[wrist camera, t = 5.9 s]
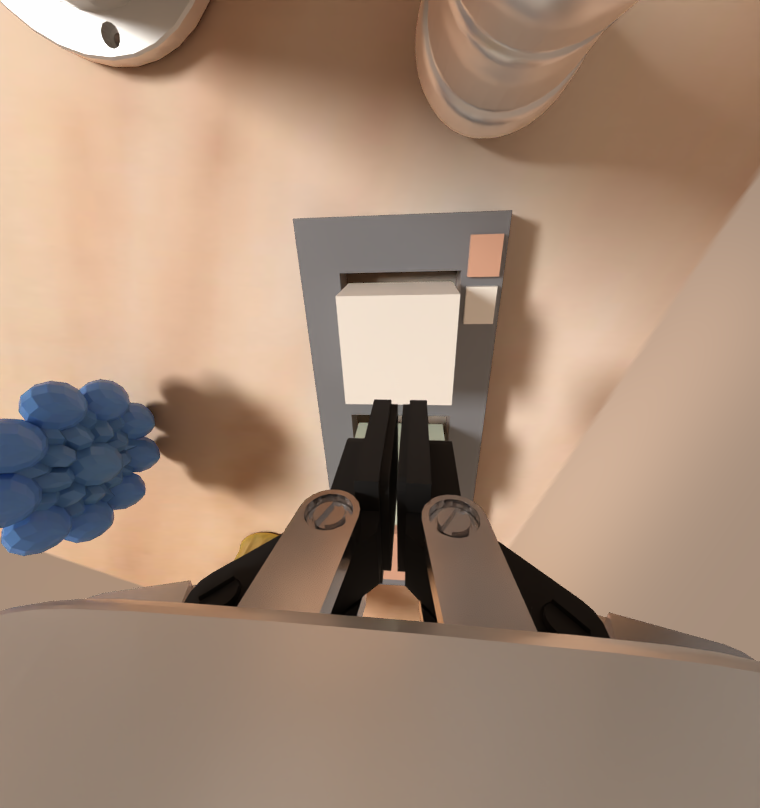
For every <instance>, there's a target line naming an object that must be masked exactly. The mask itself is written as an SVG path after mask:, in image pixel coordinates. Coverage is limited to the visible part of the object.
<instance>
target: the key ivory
mask: <svg viewBox="0 0 760 808" xmlns="http://www.w3.org/2000/svg"><path fill="white" fill-rule="evenodd" d="M459 305H460V293H459V291H458V290H457V288H456V287H455V285H454V284H453V282H452V281H436V282H388V283H348V284H347V285H346V286H345V287H344V288H343V289H342V290H341V291H340V292H339V293H338V294H337V295H336V307H337V318H338V329H339V339H340V350H341V361H342V372H343V382H344V393H345V404H373V402H374V399H382V400H391V401H392V404H398V405H403V404H410V400H427V405H452V394H453V381H454V368H455V355H456V343H457V330H458V317H459Z"/></svg>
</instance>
